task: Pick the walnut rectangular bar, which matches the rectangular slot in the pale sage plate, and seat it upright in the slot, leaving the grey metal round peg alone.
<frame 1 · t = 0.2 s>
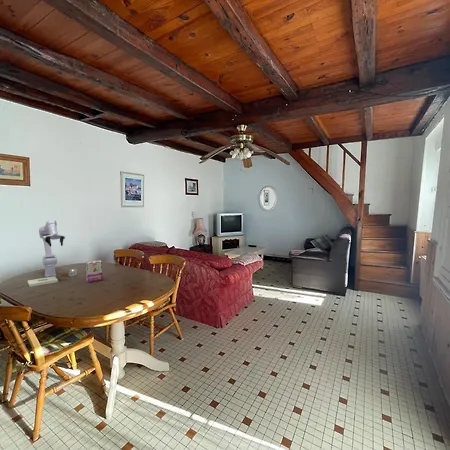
hand: (56, 245, 191), 31 cm above the table, tool tilted 45°, fingers open, 7 cm apart
walnut bar: (64, 279, 202), on the table
socket plate: (42, 282, 194), on the table
candy bar box: (94, 281, 202), on the table
grey round peg: (73, 276, 212), on the table
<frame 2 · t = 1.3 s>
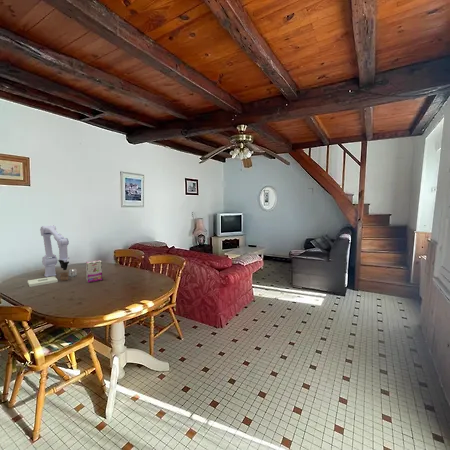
hand: (63, 269, 201), 9 cm above the table, tool pointing down, fingers open, 7 cm apart
nothing on the table moved.
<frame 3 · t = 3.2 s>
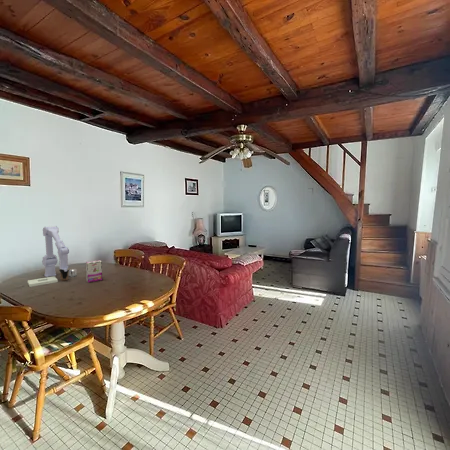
hand: (64, 278, 201), 2 cm above the table, tool pointing down, fingers closed on walnut bar, 3 cm apart
walnut bar: (64, 279, 202), on the table, touching gripper
everything else where it was.
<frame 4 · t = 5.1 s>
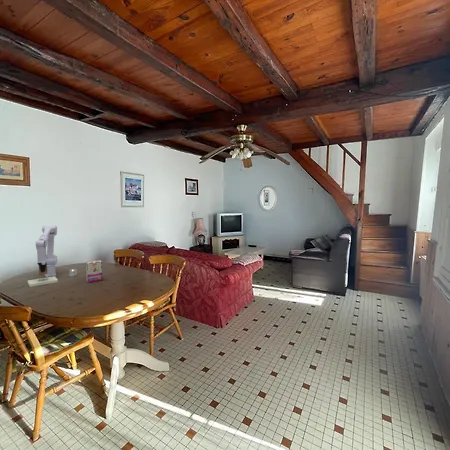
hand: (42, 271, 193), 9 cm above the table, tool pointing down, fingers closed on walnut bar, 3 cm apart
walnut bar: (43, 274, 194), point 7 cm above the table, touching gripper
everything else where it was.
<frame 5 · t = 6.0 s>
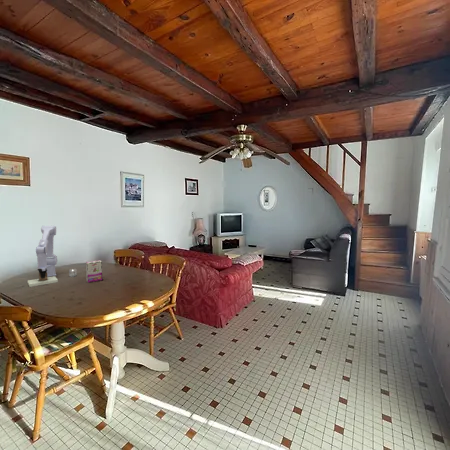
hand: (42, 277, 193), 4 cm above the table, tool pointing down, fingers closed on walnut bar, 3 cm apart
walnut bar: (43, 280, 194), point 2 cm above the table, touching gripper
everything else where it was.
when the fingers open (3 cm above the table, at t = 6.9 s): walnut bar drops 1 cm, resting in socket plate.
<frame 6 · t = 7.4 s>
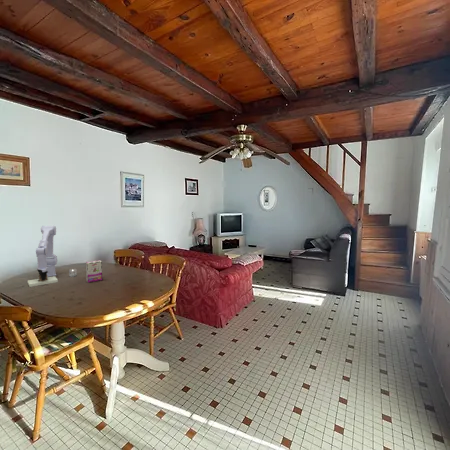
hand: (42, 278, 194), 3 cm above the table, tool pointing down, fingers open, 7 cm apart
walnut bar: (43, 282, 194), resting in socket plate
everything else where it was.
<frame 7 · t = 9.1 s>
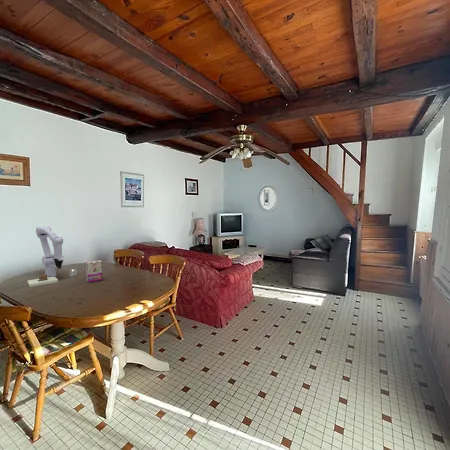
hand: (58, 267, 205), 9 cm above the table, tool pointing down, fingers open, 7 cm apart
nothing on the table moved.
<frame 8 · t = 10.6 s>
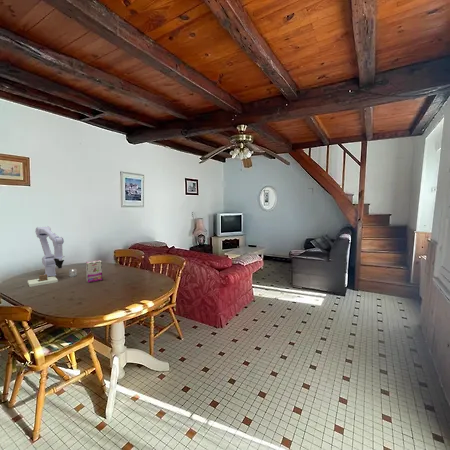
hand: (58, 267, 205), 9 cm above the table, tool pointing down, fingers open, 7 cm apart
nothing on the table moved.
at the end: walnut bar 0.3 cm off-centre on the socket plate, point 0.0 cm above the socket plate's base; walnut bar tilted 0°; grey round peg moved 0.1 cm from its start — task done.
